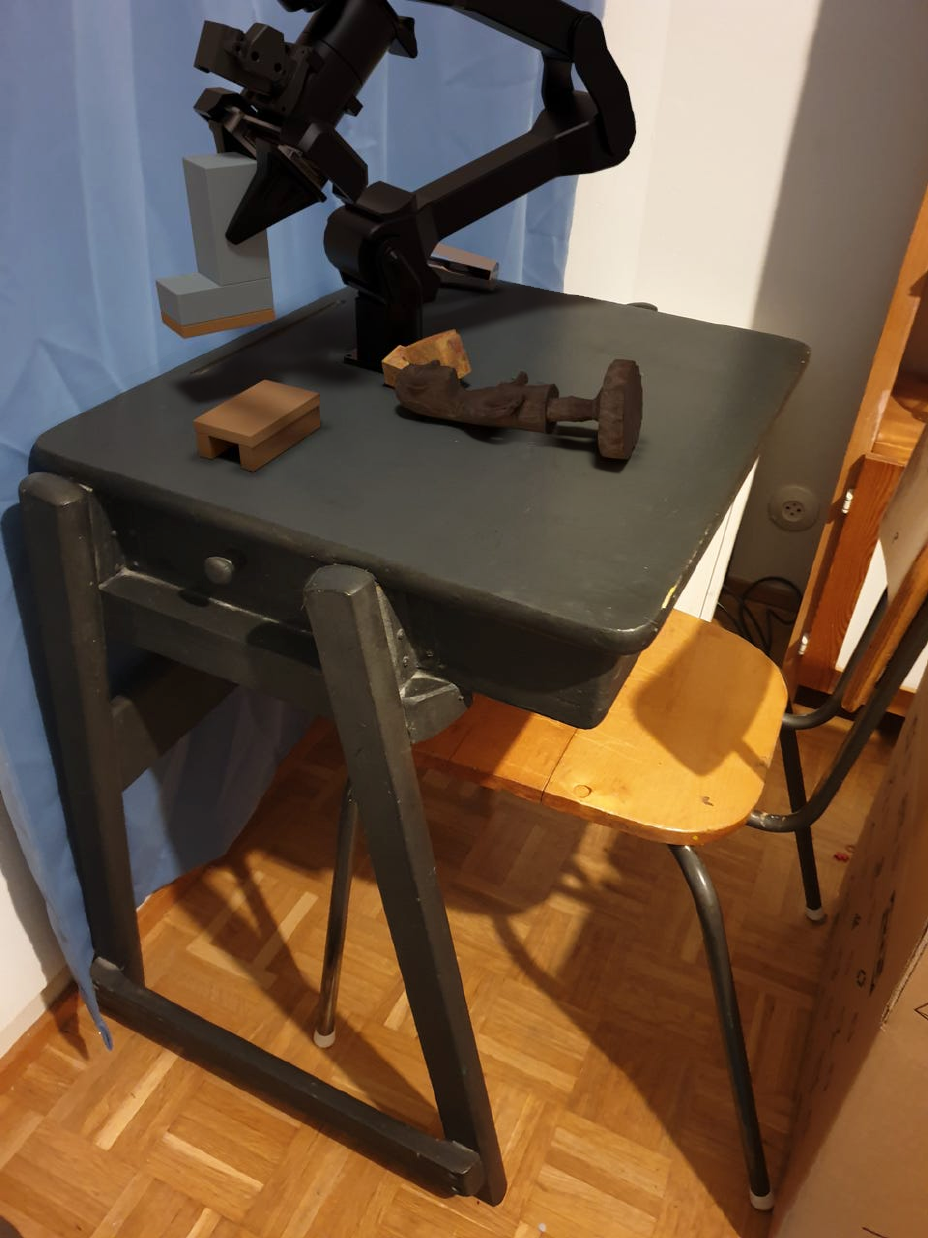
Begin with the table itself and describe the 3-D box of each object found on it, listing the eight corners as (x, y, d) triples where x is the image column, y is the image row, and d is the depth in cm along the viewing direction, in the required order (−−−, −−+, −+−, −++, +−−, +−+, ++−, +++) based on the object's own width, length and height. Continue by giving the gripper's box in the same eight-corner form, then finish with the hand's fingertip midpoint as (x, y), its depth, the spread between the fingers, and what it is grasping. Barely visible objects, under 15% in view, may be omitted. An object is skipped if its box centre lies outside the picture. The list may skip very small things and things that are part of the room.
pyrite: (412, 386, 86) (398, 342, 85) (472, 373, 83) (459, 326, 81) (384, 402, 83) (369, 356, 81) (446, 389, 79) (431, 340, 77)
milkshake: (495, 245, 101) (410, 227, 103) (485, 296, 103) (401, 277, 105) (505, 248, 105) (423, 230, 107) (495, 297, 107) (414, 278, 109)
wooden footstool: (268, 413, 78) (264, 379, 76) (322, 427, 76) (319, 392, 74) (198, 455, 72) (192, 419, 70) (255, 472, 70) (250, 436, 68)
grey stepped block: (251, 305, 80) (235, 151, 72) (275, 320, 77) (260, 162, 70) (162, 322, 76) (134, 161, 68) (183, 339, 73) (157, 173, 66)
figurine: (627, 353, 67) (376, 352, 74) (620, 459, 68) (374, 449, 75) (647, 364, 75) (420, 362, 82) (640, 459, 77) (417, 449, 83)
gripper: (199, -35, 71) (87, 139, 72) (320, -19, 59) (183, 188, 60) (300, 77, 79) (197, 230, 81) (423, 110, 68) (301, 290, 69)
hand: (216, 233), depth 72 cm, fingers closed on grey stepped block, 4 cm apart
